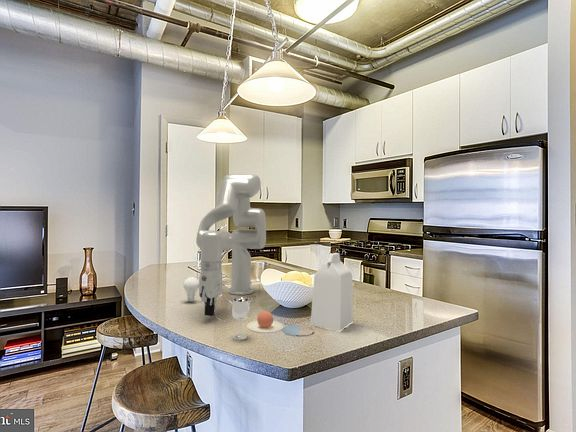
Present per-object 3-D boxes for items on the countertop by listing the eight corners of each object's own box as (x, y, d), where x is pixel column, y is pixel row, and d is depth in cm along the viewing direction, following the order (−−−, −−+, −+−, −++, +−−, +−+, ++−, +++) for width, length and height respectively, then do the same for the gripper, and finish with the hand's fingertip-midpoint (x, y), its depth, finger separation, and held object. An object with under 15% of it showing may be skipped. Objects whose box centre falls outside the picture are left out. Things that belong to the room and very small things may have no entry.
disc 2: (287, 323, 124) (287, 323, 124) (317, 327, 121) (317, 327, 121) (278, 333, 114) (278, 333, 114) (310, 338, 111) (310, 337, 111)
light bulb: (194, 304, 145) (195, 278, 145) (180, 303, 147) (180, 277, 147) (201, 301, 152) (202, 276, 152) (187, 299, 153) (188, 275, 153)
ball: (269, 306, 122) (278, 319, 120) (259, 314, 123) (267, 328, 122) (262, 310, 117) (271, 324, 115) (251, 319, 118) (260, 333, 117)
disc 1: (254, 318, 129) (254, 318, 129) (288, 323, 125) (288, 322, 125) (240, 329, 116) (240, 329, 116) (277, 334, 113) (277, 334, 113)
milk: (340, 332, 117) (342, 256, 117) (310, 325, 123) (312, 253, 123) (352, 323, 127) (355, 253, 127) (325, 317, 133) (327, 251, 133)
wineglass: (231, 334, 112) (232, 297, 112) (249, 334, 112) (250, 297, 112) (229, 340, 106) (231, 302, 106) (248, 340, 107) (249, 302, 107)
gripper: (210, 269, 118) (208, 322, 119) (229, 263, 133) (227, 310, 133) (191, 267, 120) (189, 319, 121) (211, 262, 135) (210, 308, 135)
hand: (209, 315), depth 127 cm, fingers closed
